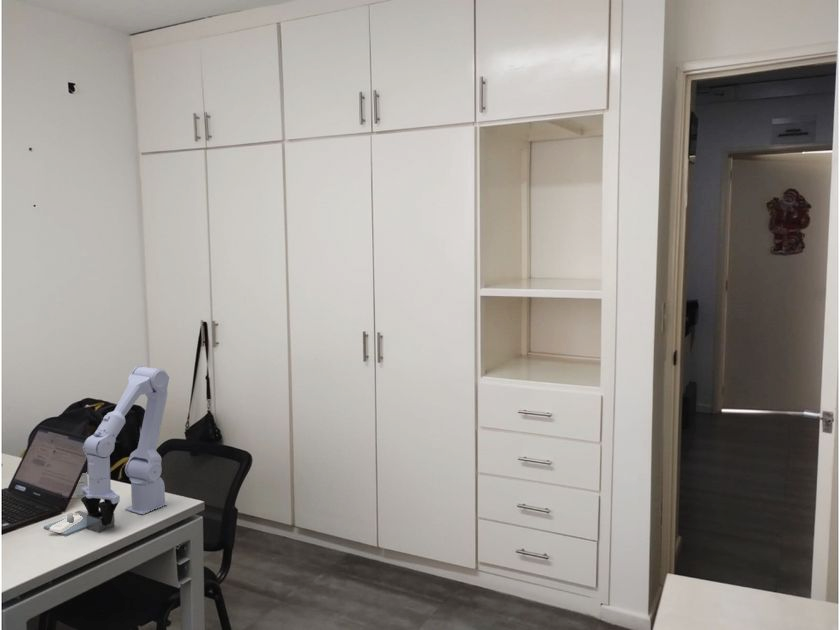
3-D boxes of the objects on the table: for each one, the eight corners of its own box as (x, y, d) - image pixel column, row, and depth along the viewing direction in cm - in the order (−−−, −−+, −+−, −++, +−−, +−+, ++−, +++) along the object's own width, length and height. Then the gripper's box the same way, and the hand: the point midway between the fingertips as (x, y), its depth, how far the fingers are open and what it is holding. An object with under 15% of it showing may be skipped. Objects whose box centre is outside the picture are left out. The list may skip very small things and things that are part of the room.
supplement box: (63, 491, 229) (62, 454, 227) (88, 489, 232) (87, 452, 230) (60, 500, 222) (59, 461, 221) (86, 497, 225) (85, 459, 223)
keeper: (77, 516, 210) (76, 504, 210) (98, 523, 205) (98, 511, 205) (43, 528, 201) (43, 516, 200) (65, 536, 196) (65, 524, 196)
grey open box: (102, 522, 206) (102, 509, 206) (114, 526, 203) (114, 513, 203) (87, 528, 201) (86, 515, 201) (98, 532, 199) (98, 519, 198)
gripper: (70, 475, 201) (72, 521, 202) (103, 485, 194) (105, 532, 195) (92, 469, 207) (93, 513, 208) (125, 478, 200) (126, 523, 201)
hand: (100, 522), depth 202 cm, fingers closed on grey open box, 5 cm apart
